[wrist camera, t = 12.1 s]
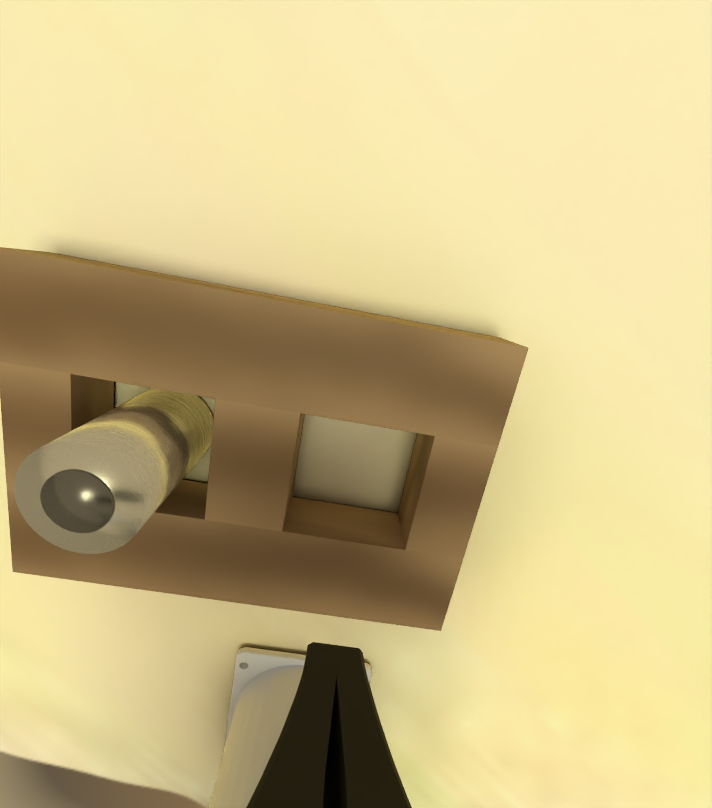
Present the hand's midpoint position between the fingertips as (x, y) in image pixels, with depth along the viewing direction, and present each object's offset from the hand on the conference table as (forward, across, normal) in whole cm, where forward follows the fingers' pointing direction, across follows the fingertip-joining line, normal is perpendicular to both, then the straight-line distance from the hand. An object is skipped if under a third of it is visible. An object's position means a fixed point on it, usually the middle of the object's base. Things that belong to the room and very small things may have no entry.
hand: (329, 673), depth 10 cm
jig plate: (+10, +4, -1) cm, 11 cm away
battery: (+10, +8, -1) cm, 14 cm away
